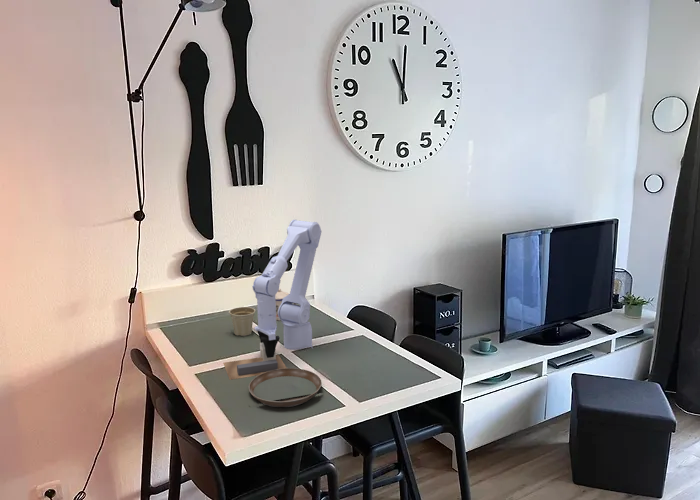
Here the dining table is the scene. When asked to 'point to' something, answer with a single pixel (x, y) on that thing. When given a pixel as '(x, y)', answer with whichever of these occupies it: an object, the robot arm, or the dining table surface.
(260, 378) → the plant saucer
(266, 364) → the bar
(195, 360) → the dining table surface
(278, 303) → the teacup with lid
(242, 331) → the flower pot
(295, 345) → the robot arm
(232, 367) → the board
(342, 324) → the dining table surface
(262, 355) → the pale grey block
